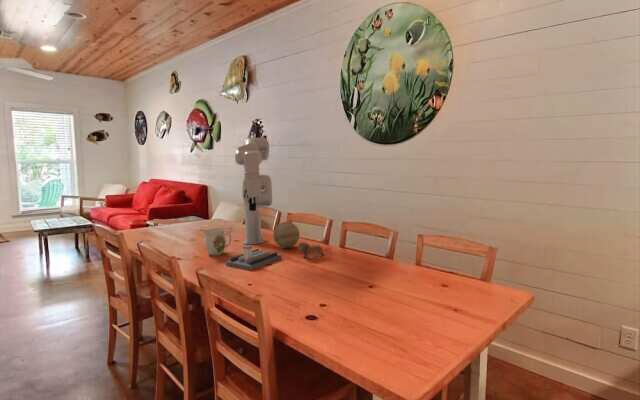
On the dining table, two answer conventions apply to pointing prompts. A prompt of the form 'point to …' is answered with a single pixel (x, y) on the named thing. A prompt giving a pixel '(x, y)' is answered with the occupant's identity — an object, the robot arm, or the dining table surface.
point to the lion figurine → (310, 249)
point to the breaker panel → (251, 267)
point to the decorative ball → (286, 235)
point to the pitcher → (216, 240)
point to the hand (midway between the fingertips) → (252, 210)
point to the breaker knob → (247, 251)
